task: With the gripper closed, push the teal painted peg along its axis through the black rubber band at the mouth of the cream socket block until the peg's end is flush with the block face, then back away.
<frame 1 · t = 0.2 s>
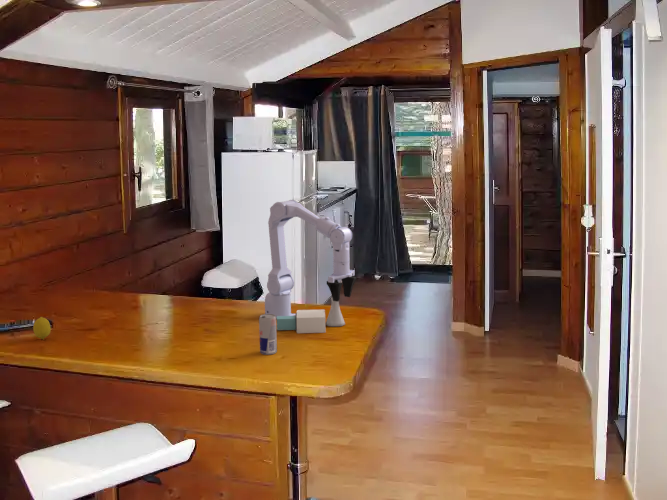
hand: (341, 298, 268), 10 cm above the table, tool pointing down, fingers open, 7 cm apart
socket block: (311, 328, 267), on the table
flask: (335, 325, 272), on the table
peg: (288, 322, 266), point 2 cm above the table, slide at 7.0 cm
energy drink: (268, 353, 240), on the table
lemon: (42, 340, 258), on the table
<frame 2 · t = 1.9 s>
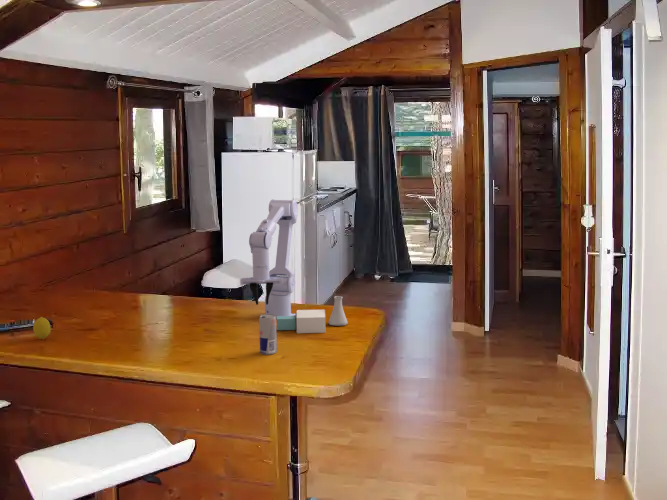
hand: (262, 303, 265), 9 cm above the table, tool pointing down, fingers open, 3 cm apart
flask: (338, 324, 273), on the table
everything else where it was.
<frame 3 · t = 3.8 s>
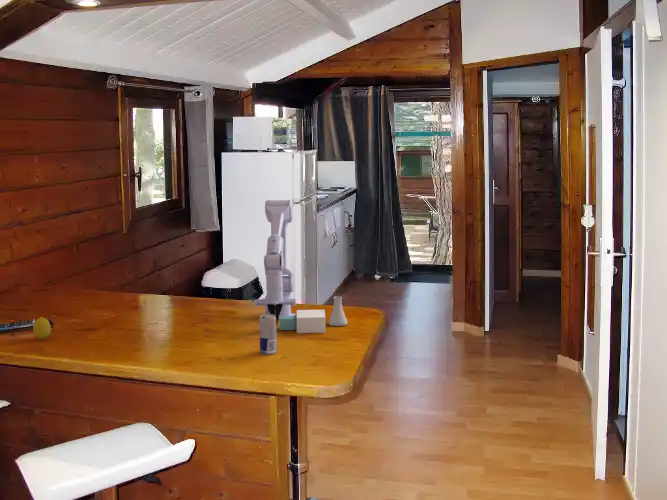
hand: (275, 325, 266), 2 cm above the table, tool pointing down, fingers closed
peg: (290, 322, 266), point 2 cm above the table, slide at 6.1 cm, touching gripper
everything else where it was.
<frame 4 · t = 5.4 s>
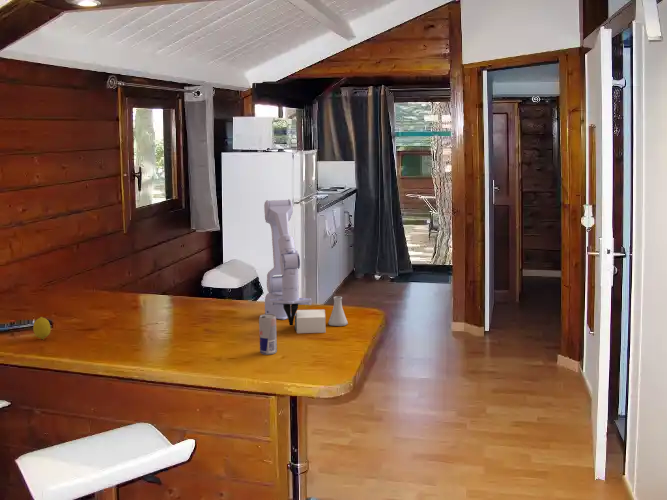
hand: (291, 324, 266), 2 cm above the table, tool pointing down, fingers closed
peg: (306, 322, 267), point 2 cm above the table, slide at 0.6 cm, touching gripper
everything else where it was.
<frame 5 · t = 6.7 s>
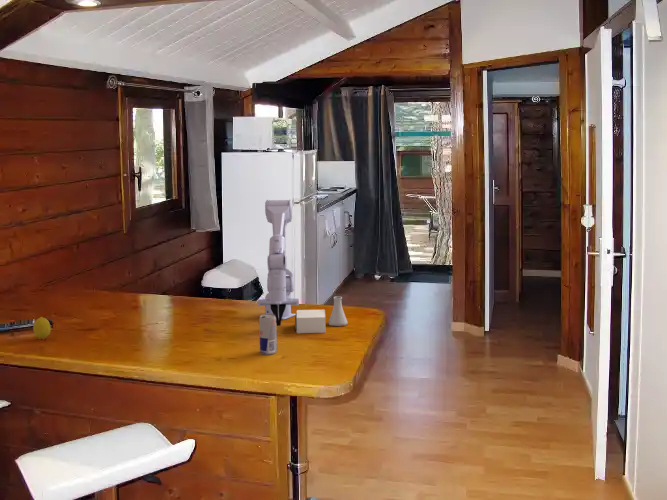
hand: (278, 325, 266), 2 cm above the table, tool pointing down, fingers closed
peg: (306, 322, 267), point 2 cm above the table, slide at 0.6 cm
everything else where it was.
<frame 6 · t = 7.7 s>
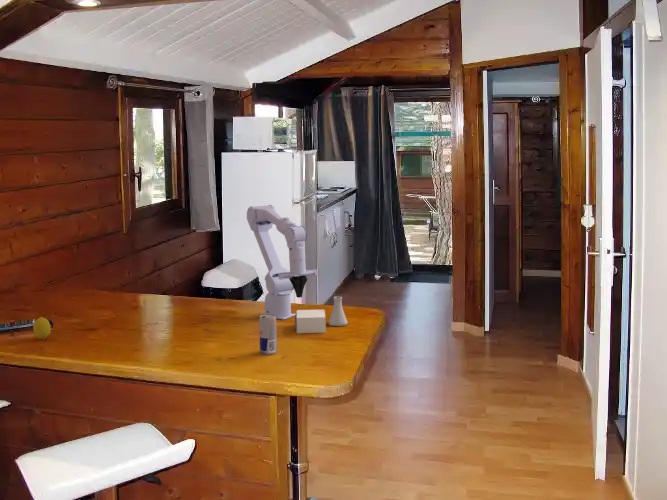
hand: (299, 297, 272), 10 cm above the table, tool pointing down, fingers closed
nothing on the table moved.
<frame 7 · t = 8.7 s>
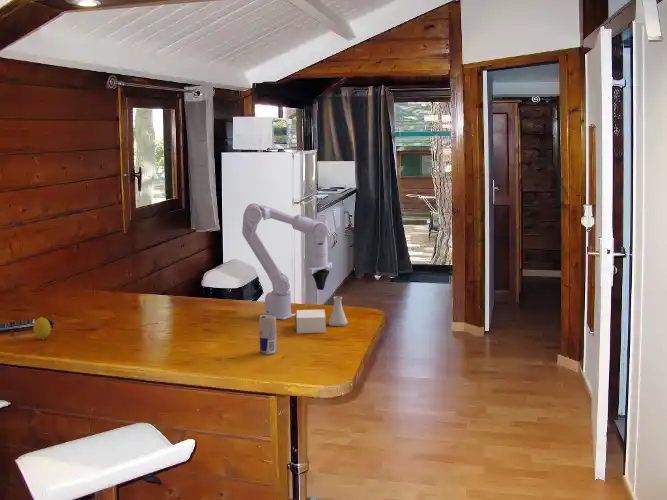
hand: (320, 289, 284), 10 cm above the table, tool pointing down, fingers closed
nothing on the table moved.
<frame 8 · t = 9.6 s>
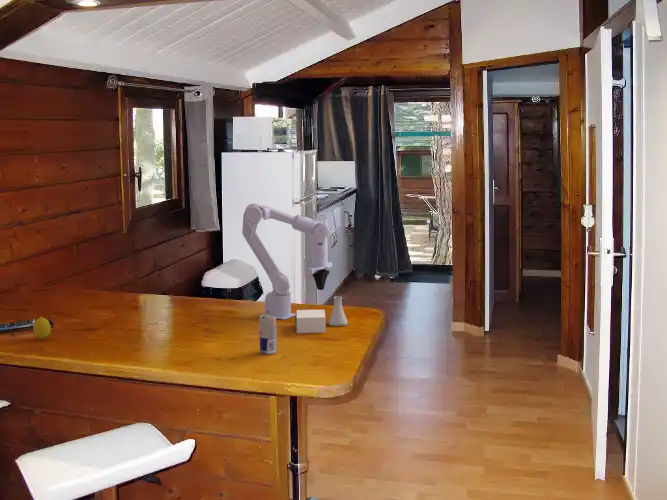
hand: (320, 289, 284), 10 cm above the table, tool pointing down, fingers closed
nothing on the table moved.
at the end: peg slide at 0.6 cm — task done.
